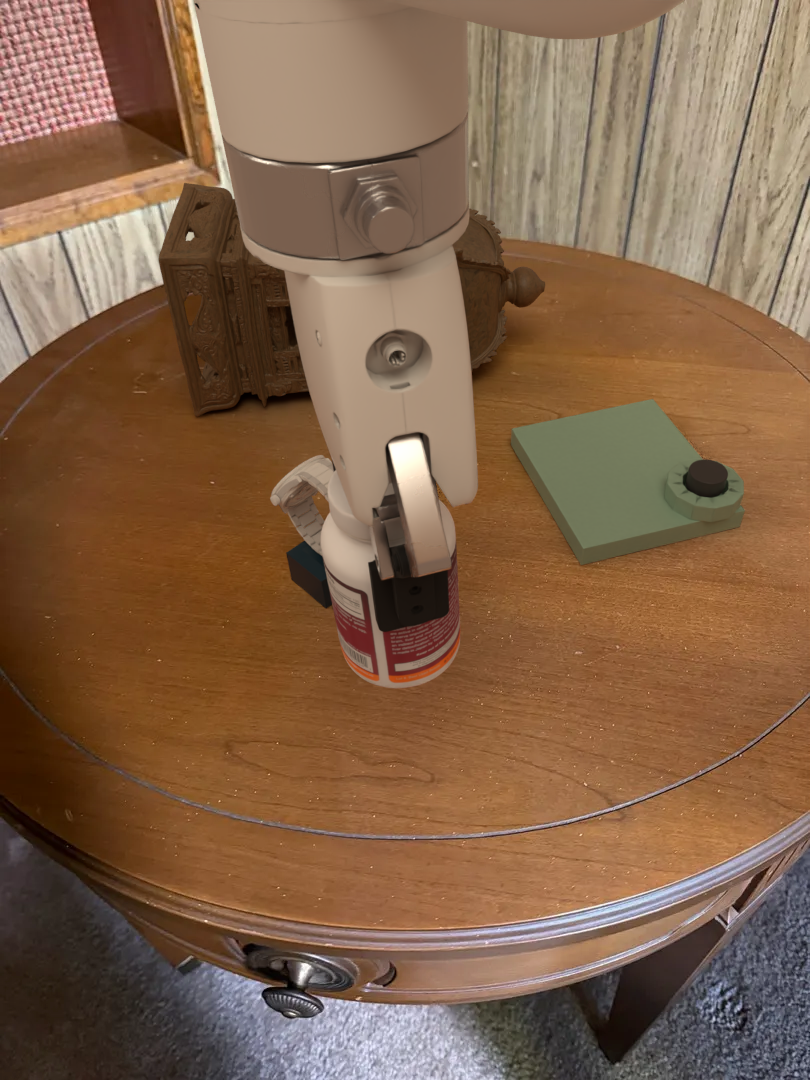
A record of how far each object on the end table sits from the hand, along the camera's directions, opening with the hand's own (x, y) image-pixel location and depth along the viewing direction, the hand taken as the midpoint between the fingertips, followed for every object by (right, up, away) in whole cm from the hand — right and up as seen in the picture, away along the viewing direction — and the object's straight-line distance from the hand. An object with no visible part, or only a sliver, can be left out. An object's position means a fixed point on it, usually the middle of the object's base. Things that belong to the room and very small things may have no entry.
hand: (392, 562), depth 40 cm
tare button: (+25, +5, +29) cm, 39 cm away
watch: (-5, -2, +28) cm, 29 cm away
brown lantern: (-3, +19, +49) cm, 53 cm away
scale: (+19, +6, +34) cm, 40 cm away
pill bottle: (0, -4, +4) cm, 6 cm away
